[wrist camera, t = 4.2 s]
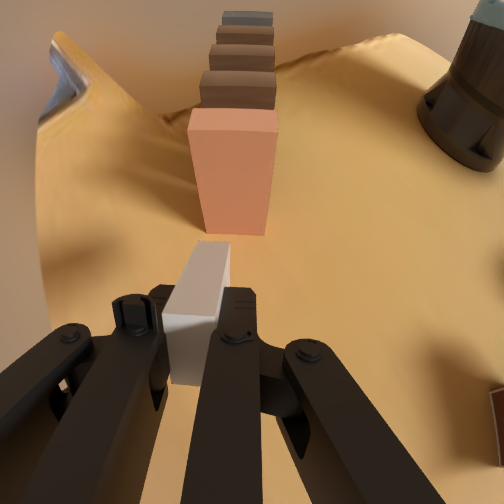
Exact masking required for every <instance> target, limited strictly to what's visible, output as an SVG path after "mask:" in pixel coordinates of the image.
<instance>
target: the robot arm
mask: <svg viewBox="0 0 504 504" xmlns="http://www.w3.org/2000/svg"><path fill="white" fill-rule="evenodd" d="M470 19H471V20H470V23H469V25H468V27H467V30H466V32H465V35H464V37H463V40H462V42H461V44H460V46H459V48H458V51H457V53H456V55H455V57H454V60H453V62H452V64H451V66H450V68H449V70H448V72H447V73H446V74H445V75H444V76H442V77H441V78H440V79H439V80H438V81H437V82H436V83H435V84H434V85H432V86H431V87H430V88H429V89H428V90H427V91H426V92H425V93H424V94H423V96H422V98H421V100H420V102H419V104H418V106H417V114H418V117H419V120H420V122H421V124H422V126H423V127H424V129H425V130H426V132H427V133H428V134H429V135H430V137H431V138H432V139H433V140H434V141H435V142H436V143H437V144H438V145H439V146H440V147H441V148H442V149H443V150H444V151H445V152H447V153H448V154H449V155H450V156H452V157H453V158H454V159H456V160H457V161H459V162H460V163H462V164H463V165H465V166H467V167H469V168H471V169H474V170H477V171H480V172H490V171H493V170H494V169H495V168H496V167H497V166H498V164H499V163H500V162H501V161H502V159H503V157H504V2H503V1H501V0H480V1H479V3H478V5H477V7H476V9H475V11H474V13H473V15H471V16H470ZM112 308H113V313H114V318H115V323H116V328H115V330H114V331H113V333H112V334H111V335H107V336H94V337H91V333H90V330H89V328H88V327H87V326H85V325H83V324H78V323H69V324H66V325H63V326H61V327H59V328H57V329H55V330H54V331H53V332H52V333H50V334H49V335H48V336H46V337H45V338H44V339H43V340H41V341H40V342H39V343H37V344H36V345H35V346H34V347H33V348H31V349H30V350H28V351H27V352H26V353H25V354H24V355H22V356H21V357H20V358H18V359H17V360H16V361H15V362H14V363H12V364H11V365H10V366H9V367H7V368H6V369H5V370H4V371H2V372H1V373H0V504H139V503H140V499H141V495H142V491H143V487H144V483H145V479H146V475H147V471H148V467H149V463H150V459H151V455H152V452H153V448H154V444H155V440H156V437H157V433H158V429H159V426H160V422H161V418H162V415H163V411H164V408H165V404H166V400H167V397H168V386H167V379H168V376H169V373H170V378H171V384H180V385H191V386H201V388H200V394H199V399H198V404H197V410H196V415H195V421H194V426H193V432H192V437H191V443H190V449H189V454H188V460H187V466H186V472H185V478H184V484H183V490H182V496H181V502H180V504H263V495H262V452H261V413H260V412H262V413H266V414H269V415H273V416H276V421H277V423H278V426H279V428H280V431H281V433H282V435H283V438H284V440H285V442H286V445H287V447H288V450H289V452H290V454H291V457H292V459H293V461H294V463H295V466H296V468H297V470H298V473H299V475H300V477H301V479H302V482H303V484H304V486H305V488H306V491H307V493H308V495H309V497H310V500H311V502H312V504H446V503H445V502H444V500H443V499H442V498H441V496H440V495H439V494H438V492H437V491H436V490H435V488H434V487H433V485H432V484H431V483H430V481H429V480H428V479H427V477H426V476H425V475H424V473H423V472H422V470H421V469H420V468H419V466H418V465H417V464H416V462H415V461H414V460H413V458H412V457H411V456H410V454H409V453H408V451H407V450H406V449H405V447H404V446H403V445H402V443H401V442H400V441H399V439H398V438H397V437H396V435H395V434H394V433H393V431H392V430H391V428H390V427H389V426H388V424H387V423H386V422H385V420H384V419H383V418H382V416H381V415H380V414H379V412H378V411H377V410H376V408H375V407H374V406H373V404H372V403H371V402H370V400H369V399H368V397H367V396H366V395H365V393H364V392H363V391H362V389H361V388H360V387H359V385H358V384H357V383H356V381H355V380H354V379H353V377H352V376H351V375H350V373H349V372H348V371H347V369H346V368H345V367H344V365H343V364H342V363H341V361H340V360H339V359H338V357H337V356H336V355H335V353H334V352H333V351H332V349H331V348H330V347H329V346H327V345H326V344H325V343H323V342H320V341H318V340H313V339H298V340H294V341H292V342H290V343H289V344H287V345H286V347H285V349H282V348H278V347H274V346H271V345H269V344H267V343H265V342H264V341H262V340H261V339H260V338H259V336H258V334H257V316H256V294H255V293H254V292H253V290H252V289H251V288H243V287H230V242H218V241H198V242H197V244H196V246H195V248H194V250H193V252H192V254H191V256H190V258H189V260H188V262H187V264H186V266H185V268H184V270H183V271H182V273H181V275H180V277H179V279H178V281H177V283H176V285H162V284H160V285H158V286H157V287H155V288H154V289H152V290H151V291H150V293H149V294H148V296H147V295H143V294H130V295H125V296H122V297H119V298H117V299H116V300H114V301H113V302H112ZM63 379H65V382H66V384H67V386H68V387H67V388H66V389H64V390H63V391H61V389H60V387H59V385H58V384H59V383H60V382H61V381H62V380H63Z"/></svg>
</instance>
